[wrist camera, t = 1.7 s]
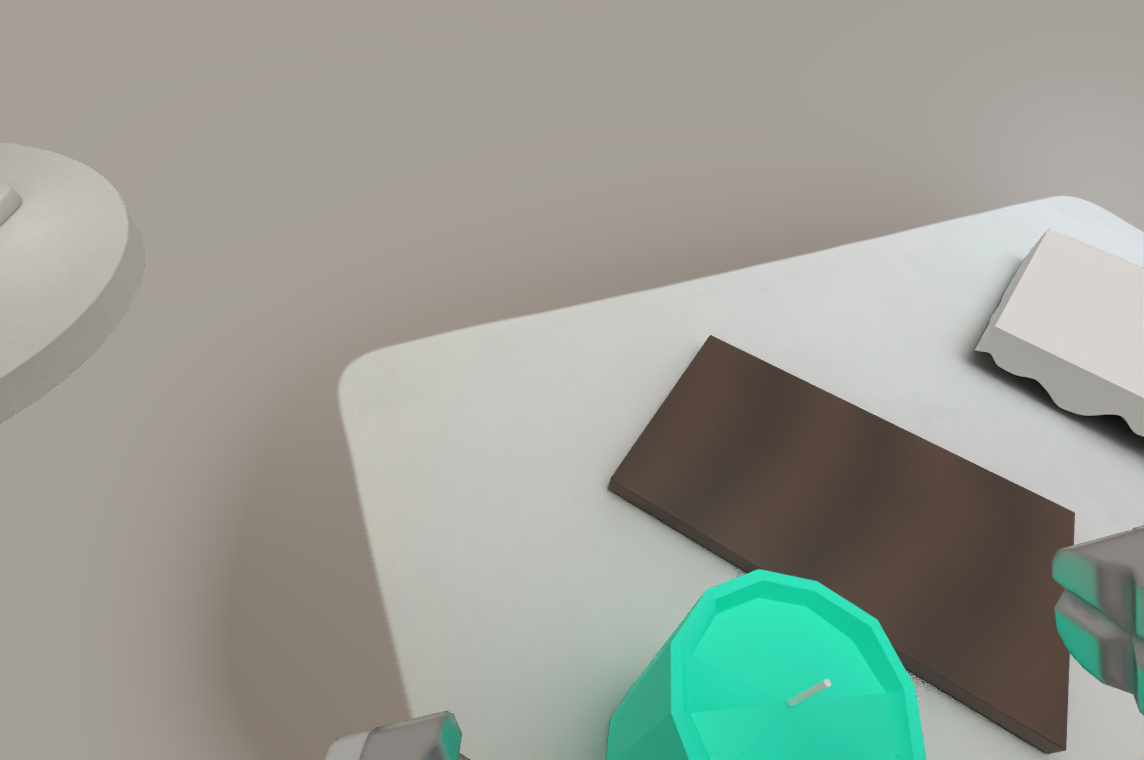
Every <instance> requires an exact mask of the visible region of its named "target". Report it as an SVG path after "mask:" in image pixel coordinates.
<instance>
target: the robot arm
mask: <svg viewBox="0 0 1144 760" xmlns="http://www.w3.org/2000/svg"><path fill="white" fill-rule="evenodd" d="M21 203H22V198H21V197H20V195H19V194H18V193H17V192H16V191H15V190H14V189H13V188H12V187H11V185H9V184H8V183H6V182H4V181H1V180H0V225H1V224H3V223H4V222H5V221H6V220H7V219H8V218H9V217H10V216H11V215H12V214H13V213H14V212H15V211H16V210H17V209H18V208H19V206H20V205H21ZM1052 576H1053V579H1054V580H1055V581H1056V582H1057V583H1059V584H1060V585H1061V586H1062V587H1063V588H1064V589H1065V590H1064V592H1063V593H1062V595H1061V597H1060V599H1059V600H1058V602H1057V604H1056V605H1055V607H1054V608H1055V617H1056V625H1057V630H1058V632H1059V634H1060V636H1061V638H1062V640H1063V642H1064V644H1065V646H1066V647H1067V649H1068V651H1069V652H1070V654H1071V655H1072V656H1073V657H1074V658H1075V659H1076V660H1077V661H1078V663H1079V664H1080V665H1081V666H1082V667H1083V668H1084V669H1085V670H1087V671H1088V672H1089V673H1090V674H1092V675H1093V676H1094V677H1095V678H1097V679H1098V680H1099V681H1100V682H1102V683H1103V684H1106V685H1109V686H1112V687H1114V688H1117V689H1120V690H1123V691H1126V692H1129V693H1131V694H1133V695H1134V697H1135V700H1136V703H1137V706H1138V709H1139V711H1140V713H1142V714H1143V715H1144V525H1143V526H1139V527H1136V528H1134V529H1132V530H1129V531H1125V532H1121V533H1117V534H1114V535H1110V536H1106V537H1103V538H1099V539H1095V540H1092V541H1088V542H1084V543H1081V544H1077V545H1073V546H1069V547H1066V548H1062V549H1058V550H1057V552H1056V554H1055V556H1054V558H1053V560H1052ZM461 737H462V733H461V730H460V728H459V726H458V723H457V721H456V718H455V716H454V714H453V713H451V712H449V711H444V712H440V713H435V714H431V715H427V716H423V717H418V718H414V719H410V720H406V721H402V722H397V723H393V724H389V725H385V726H381V727H376V728H375V729H372V730H367V731H363V732H358V733H354V734H350V735H346V736H342V737H338V738H337V739H336V740H335V741H334V742H333V743H332V744H331V745H330V746H329V748H328V750H327V752H326V754H325V757H324V759H323V760H470V759H468V758H467V757H465V756H464V755H462V754H461V753H459V750H460V744H461Z"/></svg>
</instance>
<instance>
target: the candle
mask: <svg viewBox="0 0 1144 760" xmlns="http://www.w3.org/2000/svg"><path fill="white" fill-rule="evenodd" d="M606 760H926V754H925V747H924V741H923V734H922V728H921V721H920V715H919V708H918V702H917V695H916V689H915V686H914V684H913V682H912V681H911V679H910V677H909V675H908V673H907V672H906V670H905V668H904V666H903V664H902V663H901V661H900V659H899V657H898V655H897V654H896V652H895V650H894V648H893V646H892V645H891V643H890V641H889V639H888V637H887V636H886V634H885V632H884V630H883V629H882V627H881V625H880V623H879V621H878V620H877V619H876V618H874V617H873V616H871V615H870V614H868V613H866V612H865V611H863V610H862V609H860V608H858V607H857V606H855V605H854V604H852V603H851V602H849V601H847V600H846V599H844V598H843V597H841V596H840V595H838V594H836V593H835V592H833V591H832V590H830V589H829V588H827V587H825V586H824V585H822V584H821V583H819V582H818V581H814V580H809V579H804V578H799V577H794V576H790V575H785V574H780V573H775V572H771V571H766V570H761V569H758V570H755V571H752V572H750V573H747V574H745V575H742V576H740V577H737V578H735V579H732V580H730V581H727V582H725V583H722V584H720V585H717V586H714V587H712V588H709V589H707V590H706V591H705V592H704V594H703V595H702V596H701V597H700V599H699V600H698V601H697V603H696V604H695V605H694V607H693V608H692V609H691V611H690V612H689V613H688V614H687V616H686V617H685V618H684V620H683V621H682V622H681V624H680V625H679V626H678V628H677V629H676V630H675V631H674V633H673V634H672V635H671V637H670V638H669V639H668V641H667V642H666V643H665V644H664V646H663V647H662V648H661V650H660V651H659V652H658V654H657V655H656V656H655V658H654V659H653V660H652V661H651V663H650V664H649V665H648V667H647V668H646V669H645V671H644V672H643V673H642V674H641V676H640V677H639V678H638V680H637V681H636V682H635V684H634V685H633V686H632V688H631V689H630V691H629V692H628V694H627V695H626V697H625V698H624V700H623V701H622V703H621V704H620V706H619V707H618V709H617V710H616V712H615V713H614V715H613V716H612V718H611V719H610V725H609V734H608V744H607V754H606Z"/></svg>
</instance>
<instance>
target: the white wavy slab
mask: <svg viewBox="0 0 1144 760" xmlns="http://www.w3.org/2000/svg"><path fill="white" fill-rule="evenodd" d="M1001 300H1002V301H1001V303H1000V305H999V306H998V308H997V309H996V311H995V312H994V314H993V315H992V316H991V318H990V320H991V321H990V323H989V325H988V327H987V329H986V330H985V332H984V334H983V335H982V337H981V339H980V342H979V343H978V345H977V347H976V348H975V350H976V351H981V352H988V353H990V354H991V355H992V356H993V358H994V361H995V363H996V364H997V365H998V366H999V367H1000V368H1002V369H1004V370H1006V371H1008V372H1010V373H1012V374H1014V375H1018V376H1022V377H1029V378H1032V379H1035V380H1037V381H1038V382H1039V383H1040V384H1041V385H1042V386H1043V387H1044V388H1045V389H1046V391H1047V392H1048V393H1049V394H1050V396H1051V397H1052V399H1053V401H1054V402H1055V403H1056V404H1057V405H1058V406H1059V407H1060V408H1062V409H1065V410H1067V411H1070V412H1072V413H1075V414H1079V415H1086V416H1093V415H1106V414H1114V415H1119V416H1121V417H1122V418H1123V419H1124V420H1125V421H1126V423H1127V424H1128V425H1129V426H1130V428H1131V430H1132V431H1133V432H1134V433H1136V434H1138V435H1140V436H1144V267H1142V266H1139V265H1137V264H1134V263H1132V262H1129V261H1127V260H1124V259H1122V258H1119V257H1117V256H1114V255H1112V254H1110V253H1107V252H1105V251H1102V250H1100V249H1097V248H1095V247H1092V246H1090V245H1087V244H1085V243H1082V242H1080V241H1077V240H1075V239H1072V238H1070V237H1067V236H1065V235H1062V234H1060V233H1058V232H1055V231H1053V230H1050V229H1048V230H1047V231H1046V232H1045V233H1044V235H1043V236H1042V237H1041V238H1040V239H1039V241H1038V242H1037V243H1036V244H1035V246H1034V247H1033V248H1032V249H1031V251H1030V252H1029V253H1028V255H1027V256H1026V257H1025V259H1024V260H1023V262H1022V263H1021V265H1020V267H1019V268H1018V270H1017V272H1016V274H1015V275H1014V278H1013V279H1012V281H1011V283H1010V284H1009V286H1008V288H1007V290H1006V291H1005V293H1004V295H1003V297H1002V299H1001Z"/></svg>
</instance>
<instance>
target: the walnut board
mask: <svg viewBox="0 0 1144 760" xmlns="http://www.w3.org/2000/svg"><path fill="white" fill-rule="evenodd" d="M608 489H609V490H611V491H613V492H614V493H616V494H618V495H619V496H621V497H623V498H624V499H626V500H628V501H629V502H631V503H633V504H634V505H636V506H638V507H639V508H641V509H643V510H644V511H646V512H648V513H649V514H651V515H652V516H654V517H656V518H657V519H659V520H661V521H662V522H664V523H666V524H667V525H669V526H671V527H672V528H674V529H676V530H677V531H679V532H681V533H682V534H684V535H686V536H687V537H689V538H691V539H692V540H694V541H696V542H697V543H699V544H701V545H702V546H704V547H705V548H707V549H709V550H710V551H712V552H714V553H715V554H717V555H719V556H720V557H722V558H724V559H725V560H727V561H729V562H730V563H732V564H734V565H735V566H737V567H739V568H740V569H742V570H744V571H745V572H747V573H750V572H752V571H755V570H758V569H761V570H766V571H771V572H775V573H780V574H785V575H790V576H794V577H799V578H804V579H809V580H814V581H818V582H819V583H821V584H822V585H824V586H825V587H827V588H829V589H830V590H832V591H833V592H835V593H836V594H838V595H840V596H841V597H843V598H844V599H846V600H847V601H849V602H851V603H852V604H854V605H855V606H857V607H858V608H860V609H862V610H863V611H865V612H866V613H868V614H870V615H871V616H873V617H874V618H876V619H877V620H878V621H879V623H880V625H881V627H882V629H883V630H884V632H885V634H886V636H887V637H888V639H889V641H890V643H891V645H892V646H893V648H894V650H895V652H896V654H897V655H898V657H899V659H900V661H901V663H902V664H903V666H904V668H906V669H908V670H909V671H911V672H912V673H914V674H916V675H917V676H919V677H921V678H922V679H924V680H926V681H927V682H929V683H931V684H932V685H934V686H936V687H937V688H939V689H941V690H942V691H944V692H946V693H947V694H949V695H951V696H952V697H954V698H956V699H957V700H959V701H960V702H962V703H964V704H965V705H967V706H969V707H970V708H972V709H974V710H975V711H977V712H979V713H980V714H982V715H984V716H985V717H987V718H989V719H990V720H992V721H994V722H995V723H997V724H999V725H1000V726H1002V727H1004V728H1005V729H1007V730H1009V731H1010V732H1012V733H1013V734H1015V735H1017V736H1018V737H1020V738H1022V739H1023V740H1025V741H1027V742H1028V743H1030V744H1032V745H1033V746H1035V747H1037V748H1038V749H1040V750H1042V751H1043V752H1045V753H1047V754H1050V753H1055V752H1061V751H1065V750H1066V738H1067V711H1068V684H1069V657H1070V652H1069V651H1068V649H1067V647H1066V646H1065V644H1064V642H1063V640H1062V638H1061V636H1060V634H1059V632H1058V630H1057V625H1056V617H1055V608H1054V607H1055V605H1056V604H1057V602H1058V600H1059V599H1060V597H1061V595H1062V593H1063V592H1064V590H1065V589H1064V588H1063V587H1062V586H1061V585H1060V584H1059V583H1057V582H1056V581H1055V580H1054V579H1053V576H1052V560H1053V558H1054V556H1055V554H1056V552H1057V550H1058V549H1062V548H1066V547H1069V546H1073V545H1074V523H1075V513H1074V512H1072V511H1070V510H1068V509H1066V508H1064V507H1062V506H1060V505H1058V504H1056V503H1054V502H1052V501H1050V500H1048V499H1046V498H1044V497H1042V496H1040V495H1038V494H1036V493H1033V492H1031V491H1029V490H1027V489H1025V488H1023V487H1021V486H1019V485H1017V484H1015V483H1013V482H1011V481H1009V480H1007V479H1005V478H1003V477H1001V476H999V475H997V474H994V473H992V472H990V471H988V470H986V469H984V468H982V467H980V466H978V465H976V464H974V463H972V462H970V461H968V460H966V459H964V458H962V457H960V456H958V455H956V454H953V453H951V452H949V451H947V450H945V449H943V448H941V447H939V446H937V445H935V444H933V443H931V442H929V441H927V440H925V439H923V438H921V437H919V436H917V435H915V434H912V433H910V432H908V431H906V430H904V429H902V428H900V427H898V426H896V425H894V424H892V423H890V422H888V421H886V420H884V419H882V418H880V417H878V416H876V415H874V414H871V413H869V412H867V411H865V410H863V409H861V408H859V407H857V406H855V405H853V404H851V403H849V402H847V401H845V400H843V399H841V398H839V397H837V396H835V395H832V394H830V393H828V392H826V391H824V390H822V389H820V388H818V387H816V386H814V385H812V384H810V383H808V382H806V381H804V380H802V379H800V378H798V377H796V376H794V375H791V374H789V373H787V372H785V371H783V370H781V369H779V368H777V367H775V366H773V365H771V364H769V363H767V362H765V361H763V360H761V359H759V358H757V357H755V356H753V355H750V354H748V353H746V352H744V351H742V350H740V349H738V348H736V347H734V346H732V345H730V344H728V343H726V342H724V341H722V340H720V339H718V338H716V337H714V336H712V335H710V336H709V337H708V339H707V340H706V342H705V343H704V345H703V346H702V348H701V349H700V350H699V352H698V353H697V355H696V356H695V358H694V359H693V361H692V362H691V363H690V365H689V366H688V368H687V369H686V371H685V372H684V373H683V375H682V376H681V378H680V379H679V381H678V382H677V384H676V385H675V386H674V388H673V389H672V391H671V392H670V394H669V395H668V397H667V398H666V399H665V401H664V402H663V404H662V405H661V407H660V408H659V409H658V411H657V412H656V414H655V415H654V417H653V418H652V420H651V421H650V422H649V424H648V425H647V427H646V428H645V430H644V431H643V433H642V434H641V435H640V437H639V438H638V440H637V441H636V443H635V444H634V445H633V447H632V448H631V450H630V451H629V453H628V454H627V456H626V457H625V458H624V460H623V461H622V463H621V464H620V466H619V467H618V469H617V470H616V471H615V473H614V474H613V476H612V477H611V479H610V483H609V486H608Z"/></svg>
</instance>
